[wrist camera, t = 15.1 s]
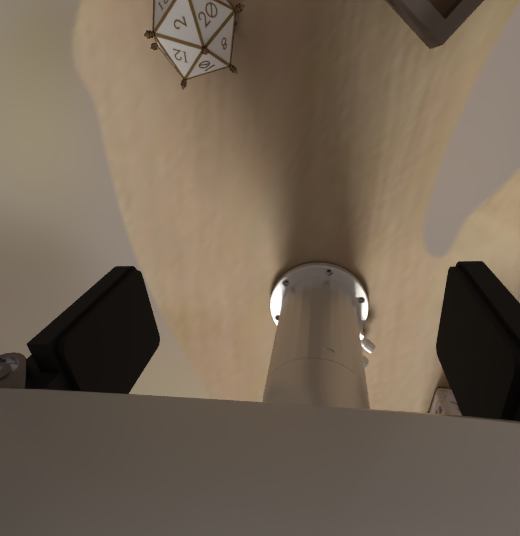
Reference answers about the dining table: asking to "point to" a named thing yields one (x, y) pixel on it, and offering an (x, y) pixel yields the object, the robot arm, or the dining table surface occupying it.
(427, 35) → the tray
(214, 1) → the game die
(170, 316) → the dining table surface
